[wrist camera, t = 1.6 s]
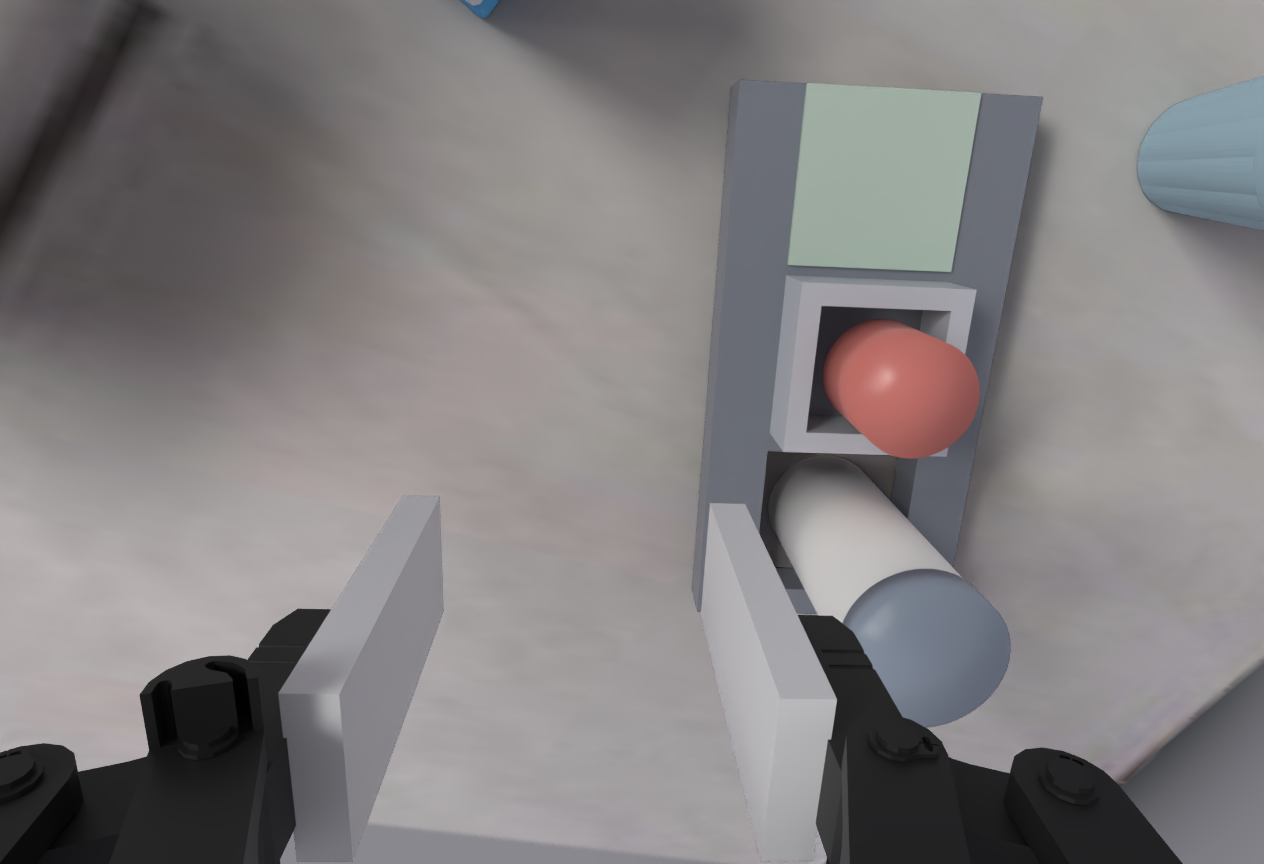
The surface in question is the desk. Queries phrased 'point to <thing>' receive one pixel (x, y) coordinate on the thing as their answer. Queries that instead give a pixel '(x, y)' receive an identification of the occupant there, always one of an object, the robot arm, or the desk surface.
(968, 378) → the plunger
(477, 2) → the ink box
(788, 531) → the cartridge
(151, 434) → the desk surface
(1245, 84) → the cup
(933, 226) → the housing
